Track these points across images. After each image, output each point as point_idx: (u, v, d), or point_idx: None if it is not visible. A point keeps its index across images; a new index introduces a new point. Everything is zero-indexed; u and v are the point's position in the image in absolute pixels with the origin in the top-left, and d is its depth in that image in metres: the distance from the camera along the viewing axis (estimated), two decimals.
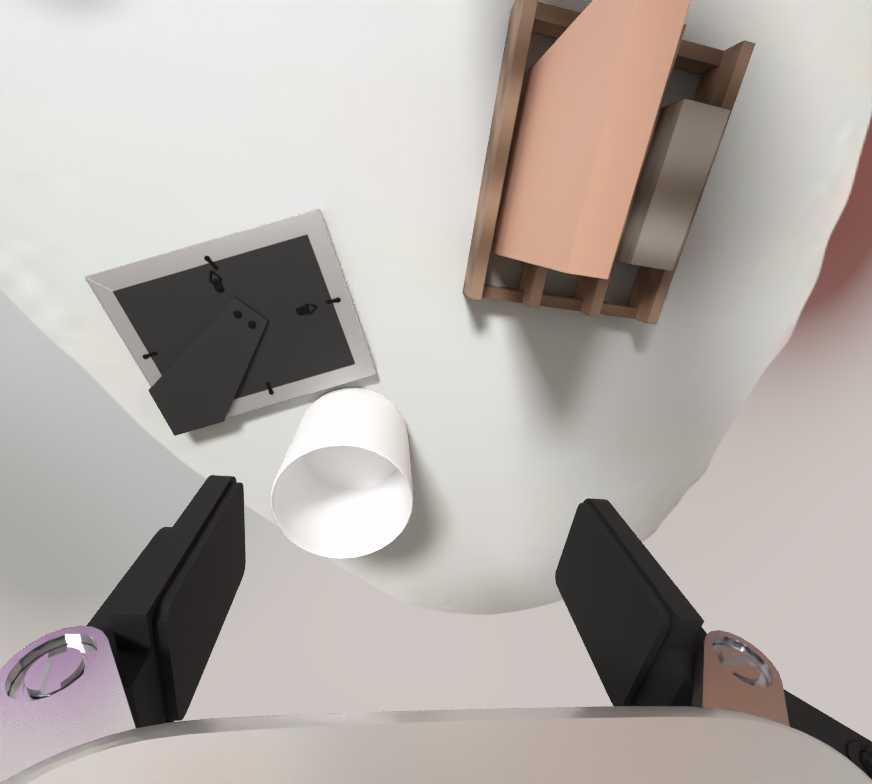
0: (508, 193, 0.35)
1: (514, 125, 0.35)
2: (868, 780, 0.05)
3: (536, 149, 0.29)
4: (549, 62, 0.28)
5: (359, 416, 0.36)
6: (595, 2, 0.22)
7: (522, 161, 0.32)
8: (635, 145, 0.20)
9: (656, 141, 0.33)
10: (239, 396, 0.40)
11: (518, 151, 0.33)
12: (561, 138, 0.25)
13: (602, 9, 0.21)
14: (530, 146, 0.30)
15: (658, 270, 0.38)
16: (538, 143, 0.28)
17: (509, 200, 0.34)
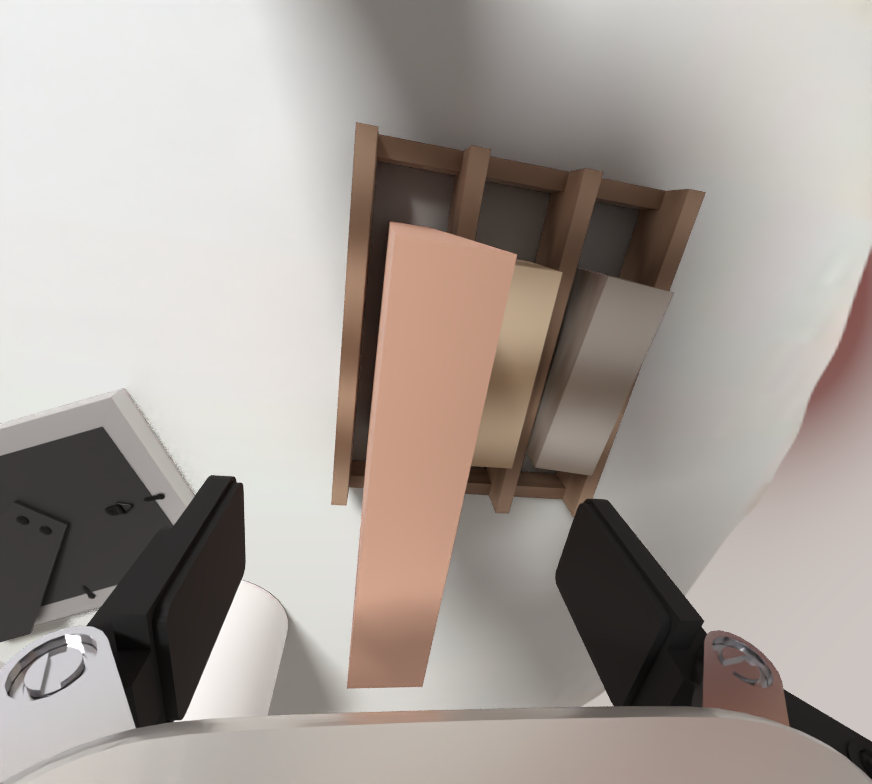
0: (374, 375, 0.25)
1: None
2: (868, 780, 0.05)
3: None
4: None
5: None
6: None
7: None
8: (432, 538, 0.11)
9: (575, 314, 0.24)
10: (49, 602, 0.31)
11: None
12: None
13: (388, 269, 0.12)
14: None
15: None
16: (376, 362, 0.19)
17: None
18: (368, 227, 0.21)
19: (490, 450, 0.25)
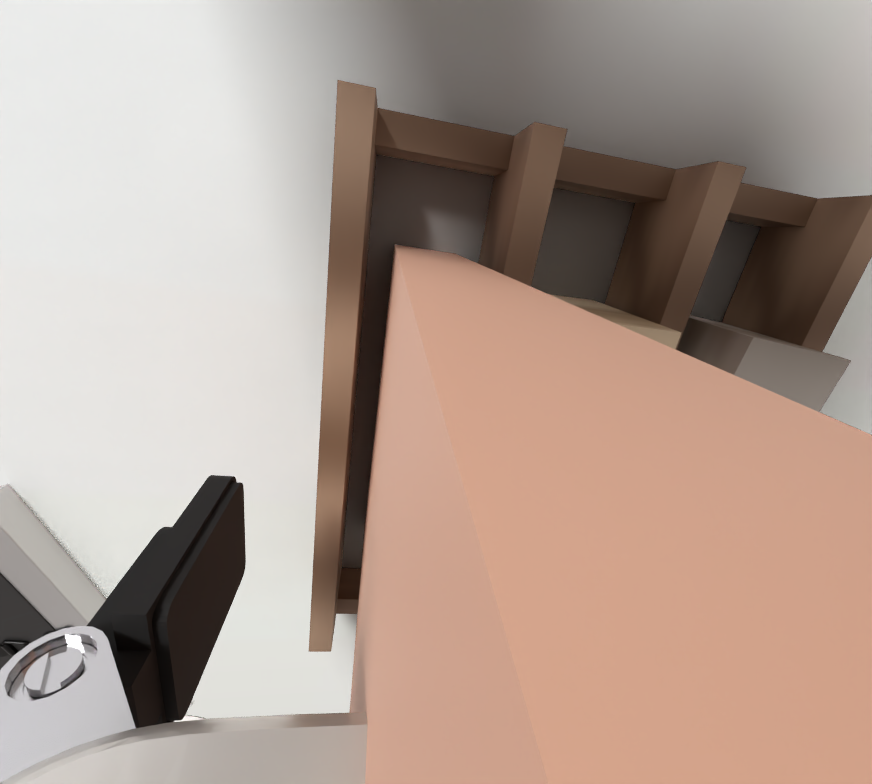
0: (371, 470, 0.17)
1: (385, 330, 0.17)
2: None
3: None
4: (392, 297, 0.10)
5: None
6: (406, 326, 0.04)
7: (374, 456, 0.14)
8: None
9: None
10: None
11: None
12: (361, 675, 0.07)
13: (401, 452, 0.03)
14: (375, 457, 0.13)
15: None
16: None
17: (369, 493, 0.17)
18: (360, 259, 0.12)
19: None
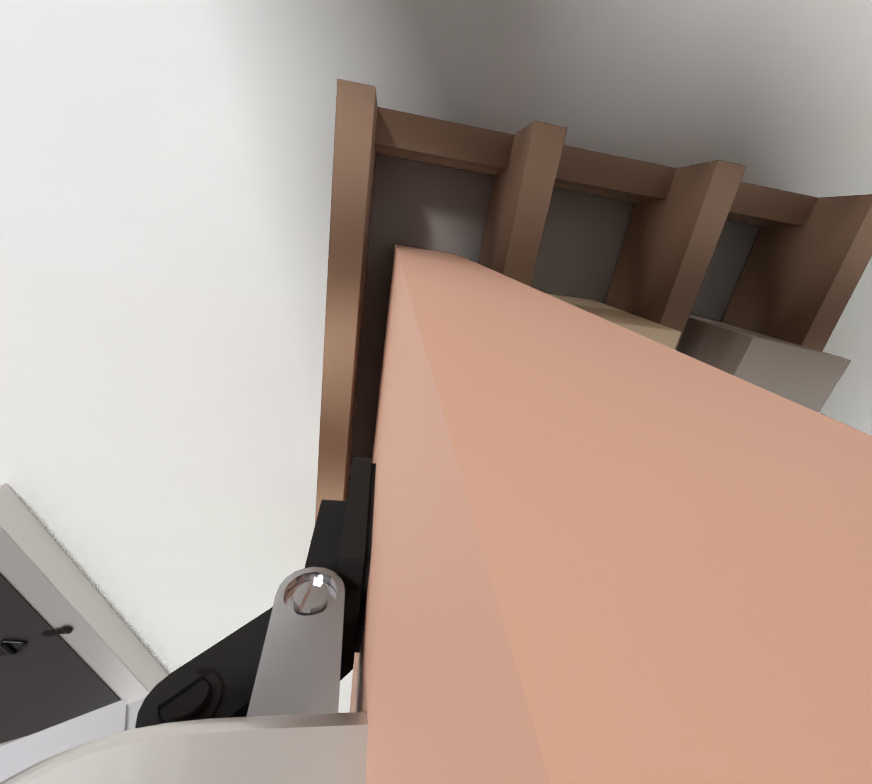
0: None
1: None
2: None
3: None
4: (393, 298, 0.10)
5: None
6: (407, 327, 0.04)
7: (374, 457, 0.14)
8: None
9: None
10: None
11: (378, 411, 0.15)
12: (361, 678, 0.07)
13: (402, 456, 0.03)
14: (375, 458, 0.13)
15: None
16: None
17: None
18: (360, 258, 0.12)
19: None
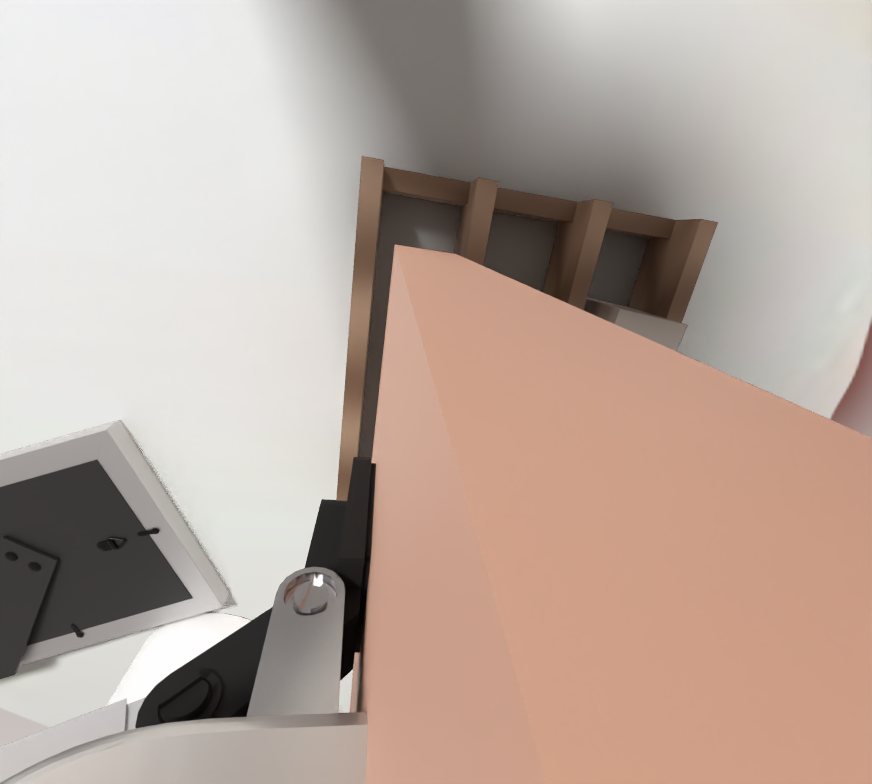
0: None
1: None
2: None
3: None
4: (393, 298, 0.10)
5: None
6: (406, 327, 0.04)
7: (374, 456, 0.14)
8: None
9: None
10: (36, 641, 0.30)
11: (378, 411, 0.15)
12: (361, 677, 0.07)
13: (400, 456, 0.03)
14: (375, 457, 0.13)
15: None
16: None
17: None
18: (373, 259, 0.20)
19: None
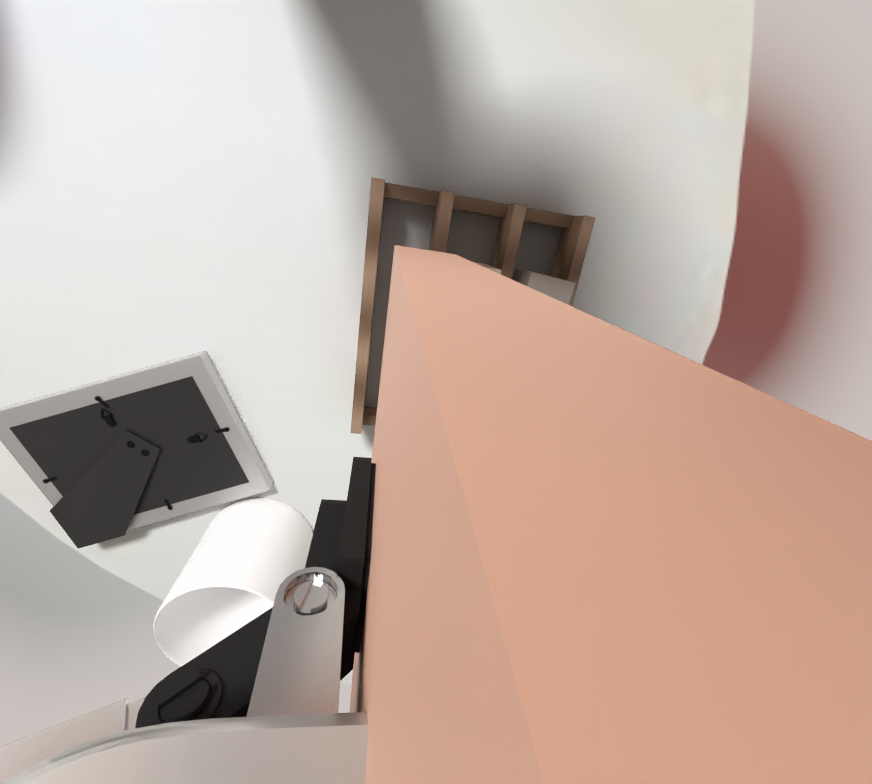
0: None
1: (385, 331, 0.17)
2: None
3: None
4: (393, 298, 0.10)
5: (247, 542, 0.39)
6: (406, 329, 0.04)
7: (374, 457, 0.14)
8: None
9: None
10: (139, 512, 0.42)
11: (378, 411, 0.15)
12: (360, 679, 0.07)
13: (400, 458, 0.03)
14: (375, 458, 0.13)
15: None
16: None
17: None
18: (378, 240, 0.33)
19: None
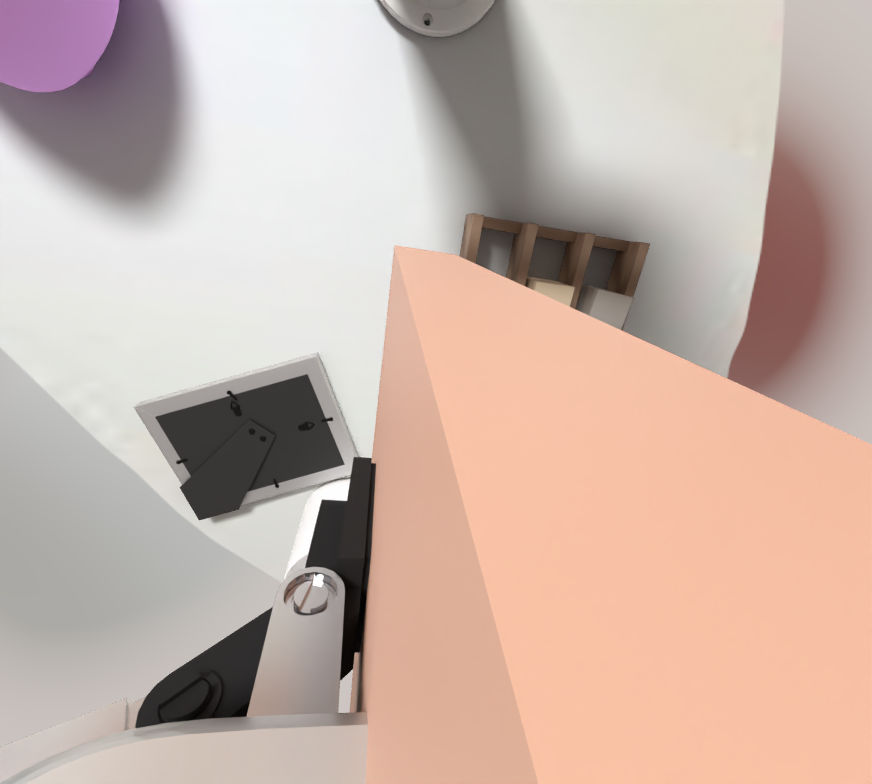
0: None
1: (385, 331, 0.17)
2: None
3: None
4: (393, 299, 0.10)
5: None
6: (406, 331, 0.04)
7: (374, 457, 0.14)
8: None
9: (581, 310, 0.43)
10: (251, 489, 0.50)
11: (378, 411, 0.15)
12: (361, 679, 0.07)
13: (400, 459, 0.03)
14: (375, 459, 0.13)
15: None
16: None
17: None
18: (475, 263, 0.40)
19: None
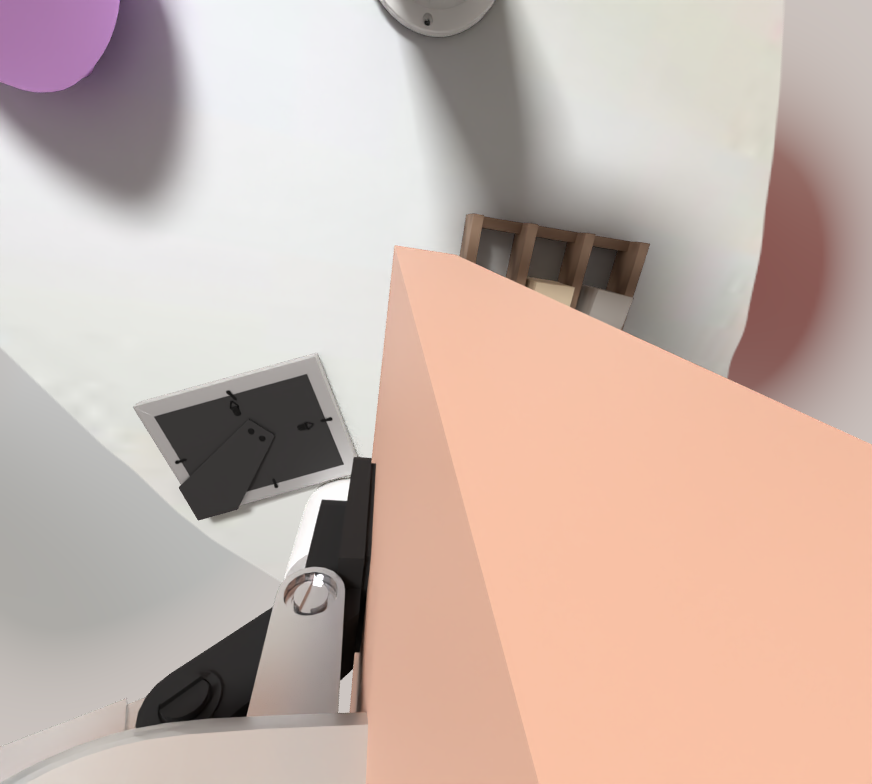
0: None
1: (385, 331, 0.17)
2: None
3: None
4: (393, 299, 0.10)
5: None
6: (406, 331, 0.04)
7: (374, 457, 0.14)
8: None
9: (581, 310, 0.43)
10: (250, 489, 0.50)
11: (378, 411, 0.15)
12: (361, 679, 0.07)
13: (400, 459, 0.03)
14: (375, 459, 0.13)
15: None
16: None
17: None
18: (475, 263, 0.40)
19: None
